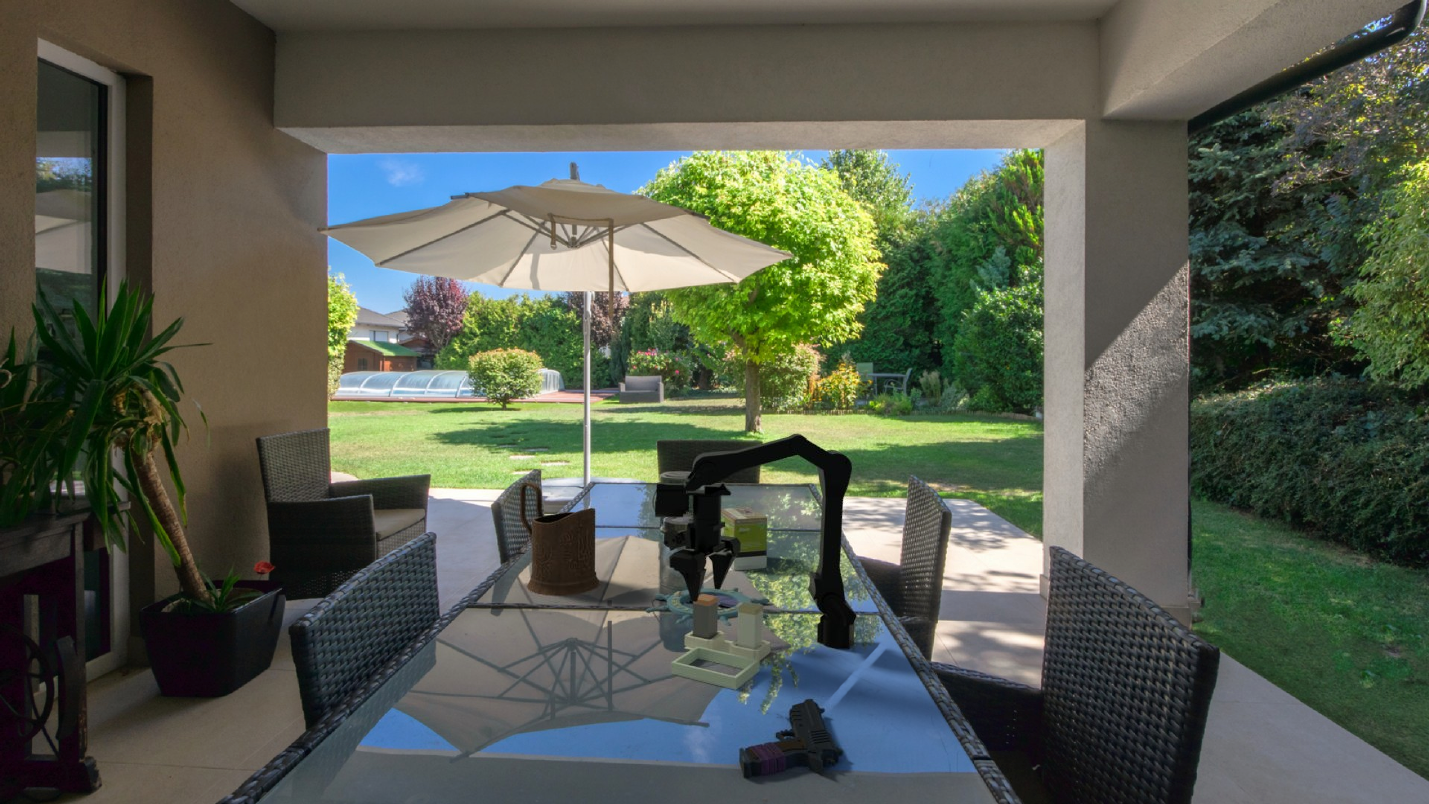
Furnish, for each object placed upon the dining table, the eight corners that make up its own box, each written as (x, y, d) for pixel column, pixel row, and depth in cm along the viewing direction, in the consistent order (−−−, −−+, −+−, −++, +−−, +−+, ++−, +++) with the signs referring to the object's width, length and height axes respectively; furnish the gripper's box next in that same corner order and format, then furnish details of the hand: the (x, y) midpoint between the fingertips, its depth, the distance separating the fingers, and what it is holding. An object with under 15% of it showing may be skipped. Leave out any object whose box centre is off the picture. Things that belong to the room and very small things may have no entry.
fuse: (762, 652, 147) (763, 604, 147) (754, 658, 144) (754, 610, 144) (745, 649, 149) (746, 601, 148) (737, 655, 146) (738, 606, 145)
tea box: (717, 557, 223) (717, 507, 222) (749, 555, 226) (750, 506, 225) (733, 571, 208) (734, 517, 207) (767, 568, 211) (768, 516, 210)
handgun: (733, 715, 124) (824, 714, 125) (741, 782, 104) (849, 780, 105) (733, 698, 124) (824, 696, 125) (741, 762, 104) (849, 760, 105)
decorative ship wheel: (793, 589, 182) (739, 627, 156) (793, 603, 182) (738, 643, 156) (685, 572, 196) (618, 604, 170) (685, 584, 196) (618, 618, 170)
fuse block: (773, 655, 149) (773, 640, 148) (755, 669, 142) (755, 653, 141) (701, 639, 156) (701, 625, 156) (681, 652, 149) (681, 637, 149)
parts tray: (759, 676, 138) (759, 660, 138) (735, 695, 130) (736, 678, 130) (696, 661, 145) (697, 646, 145) (670, 678, 137) (671, 662, 137)
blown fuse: (717, 642, 152) (717, 596, 152) (708, 648, 149) (708, 601, 148) (701, 639, 154) (702, 593, 153) (692, 645, 151) (693, 598, 150)
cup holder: (565, 600, 181) (566, 496, 180) (495, 584, 193) (495, 486, 192) (615, 582, 197) (615, 486, 195) (546, 567, 209) (547, 477, 208)
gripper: (695, 505, 162) (695, 577, 163) (646, 521, 146) (645, 601, 147) (742, 511, 157) (741, 585, 158) (696, 527, 140) (695, 610, 141)
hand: (706, 595), depth 151 cm, fingers open, 9 cm apart
